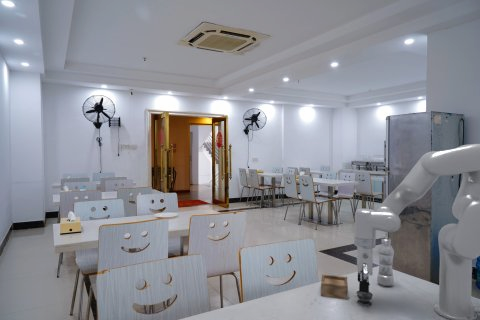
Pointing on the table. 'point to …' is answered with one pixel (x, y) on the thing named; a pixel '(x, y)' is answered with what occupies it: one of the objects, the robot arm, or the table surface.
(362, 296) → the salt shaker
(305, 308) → the table surface
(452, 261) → the robot arm
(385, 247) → the plastic bottle
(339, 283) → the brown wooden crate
